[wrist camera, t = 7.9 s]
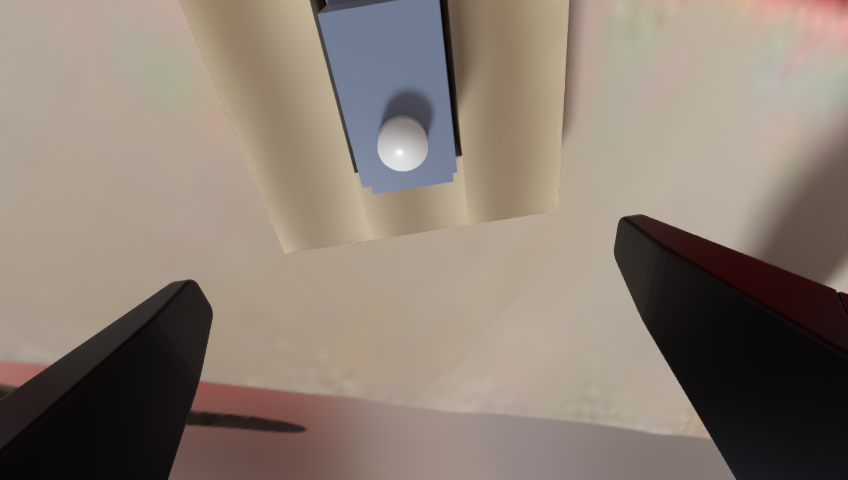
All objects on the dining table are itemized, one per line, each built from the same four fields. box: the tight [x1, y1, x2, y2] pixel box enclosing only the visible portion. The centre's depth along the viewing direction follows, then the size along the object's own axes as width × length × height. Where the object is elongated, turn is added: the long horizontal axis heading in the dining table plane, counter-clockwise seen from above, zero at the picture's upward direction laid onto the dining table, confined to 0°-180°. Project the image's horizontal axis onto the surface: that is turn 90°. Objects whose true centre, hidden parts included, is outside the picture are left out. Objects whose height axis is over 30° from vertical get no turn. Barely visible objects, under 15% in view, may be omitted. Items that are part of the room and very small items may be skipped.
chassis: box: [178, 0, 569, 253], centre depth 17 cm, size 13×14×3 cm
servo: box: [317, 0, 457, 194], centre depth 15 cm, size 3×8×7 cm, turn 8°
